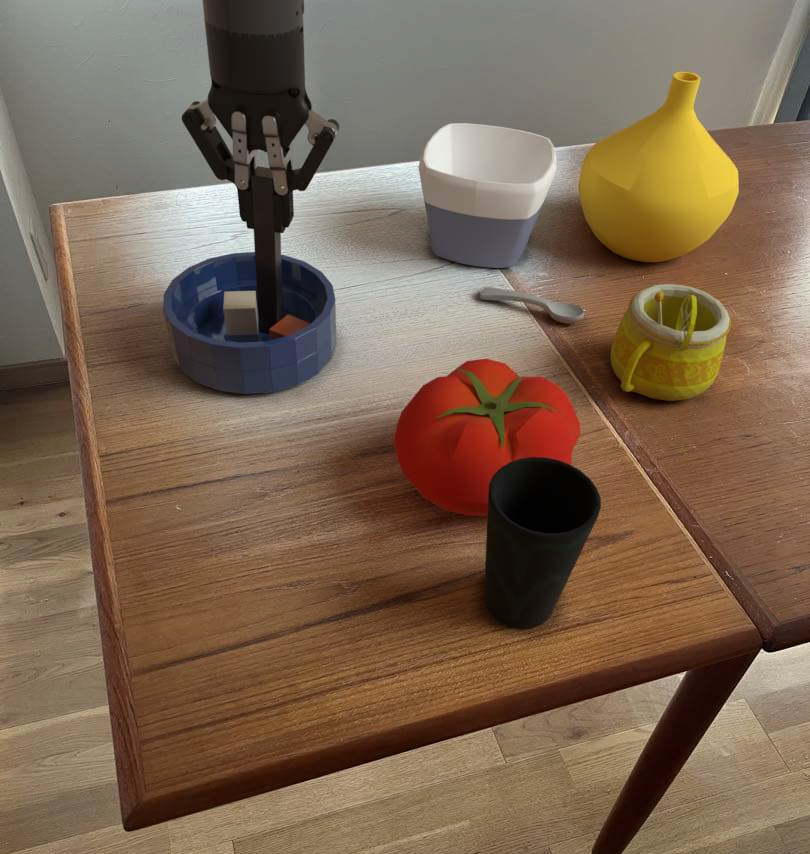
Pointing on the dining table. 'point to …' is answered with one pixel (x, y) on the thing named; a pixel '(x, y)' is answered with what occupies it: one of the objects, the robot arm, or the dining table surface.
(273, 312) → the stick
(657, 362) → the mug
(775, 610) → the dining table surface
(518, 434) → the tomato
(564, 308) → the spoon
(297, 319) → the block
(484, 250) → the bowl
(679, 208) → the vase
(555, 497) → the cup
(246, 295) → the block
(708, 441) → the dining table surface
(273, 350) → the bowl
